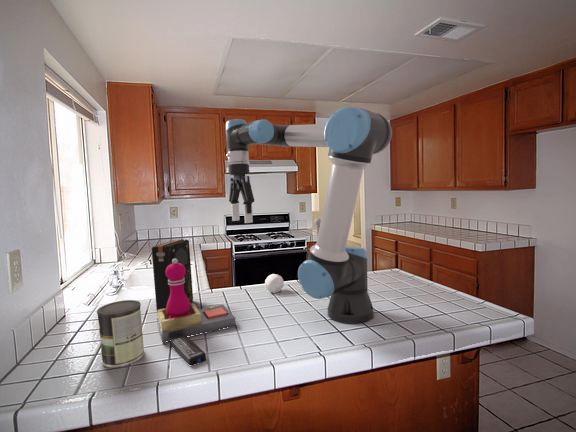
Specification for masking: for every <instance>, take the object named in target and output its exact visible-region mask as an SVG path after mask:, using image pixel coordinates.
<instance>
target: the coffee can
mask: <svg viewBox="0 0 576 432" xmlns="http://www.w3.org/2000/svg"><path fill="white" fill-rule="evenodd" d="M141 305H142V304H141V302H140V301H139V300H135V299H134V300H133V299H129V300H127V299H126V300H120V301H119V300H118V301H115V302H111V303H107V304H104V305H103V306H100V307H99V308H98V309H97V310H96V314H97V319H98V320H97V322H98V330H99V341H100V348H101V349H100V351H101V360H102V361H101V363H102V365H103V366H104V367H106V368H121V367H126V366H129V365H131V364H134V363H136V362H138V361H139V360H141V359H142V358H143V357H144V355H145V349H144V345H145V344H144V335H143V334H144V333H143V324H142V310H141ZM125 365H126V366H125Z"/></svg>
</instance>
